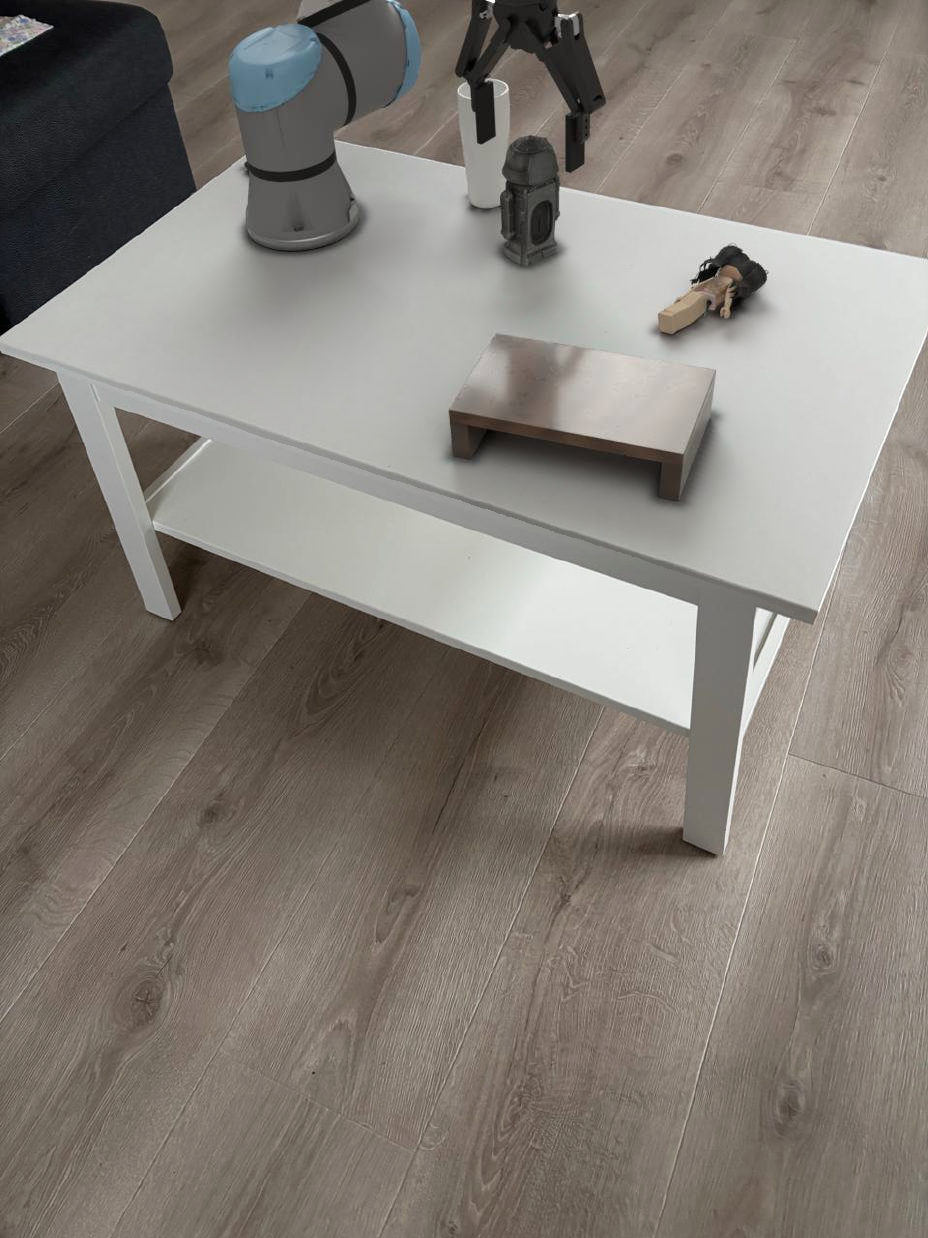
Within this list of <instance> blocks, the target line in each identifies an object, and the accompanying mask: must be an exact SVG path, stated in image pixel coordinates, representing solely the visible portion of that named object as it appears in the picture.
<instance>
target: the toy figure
mask: <svg viewBox="0 0 928 1238" xmlns="http://www.w3.org/2000/svg"><path fill="white" fill-rule="evenodd" d="M707 265H708V266H707ZM702 267H703V269H702ZM698 268H699V271H698V272H697V274H696V275H695V277H694V278H691V279H690V280H689V282H690V284H691V288H690V290H689V291H687V292H686V293H685V294H684V295H683V296H678V297H676V298H675V300H674V301H673V303H674V304H671V305H669V306H667V307H665V308H664V309H663V310H660V311H659V312H658V313H657V320H658V321H657V322H658V331H659V332H661V333H665V334H669V335H674V333H676V332H677V331H680V330H682V329H685V328H686V327H688V326H691V325H692V324H693V323H694V322H696V321H697V320H698V319H699V318H700V317H701V316H702V315H703V316H704V317H705V316H706V315H707V313H708V312H709V310H710V311H715V310H716V308H717V306H718V305H720V304H721V303H723V302H724V306H722V307H720V308H719V310H718V311H717V313H718V314H720V317H721V318H722V317H724V320H727V319H729V318H730V316H731V314H732V313H733V310H736V311H738V310H739V308H740V307H742V306H743V303H744V301H745V299H746V298H748V297H749V296H751V295H752V294H754V293H755V294H757V293H758V292H760V291H761V290H762V289H763V288H764V286H765V284H766V283H767V281H768V276H767V275H768V274H770V273H769V271H768V270H767V269H765V268H764V267H763V266H762V265H761V264H760V263H759V262H756V261H755V260H751V258H750V256H749V255H748V254H746V253H745V252H744V249H742V248H741V247H739V246H737V244H736V243H735V242H731V243H728V245H726V246H724V247H722V248H721V249H720V250H719V252H717V254H716V255H715V256H714V257H713V256H709V258H708V259H705V260H704V261H703V263H701V264H700V265H699V267H698ZM694 284H695V285H694ZM693 285H694V286H693ZM759 289H760V290H759Z"/></svg>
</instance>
